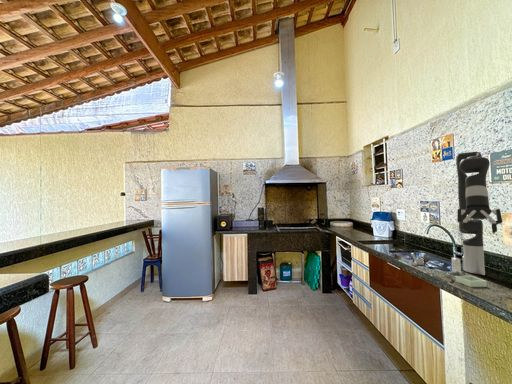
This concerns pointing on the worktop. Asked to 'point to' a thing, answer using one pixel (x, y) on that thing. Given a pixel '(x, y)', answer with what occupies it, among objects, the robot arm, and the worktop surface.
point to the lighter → (418, 259)
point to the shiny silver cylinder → (456, 267)
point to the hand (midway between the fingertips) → (479, 232)
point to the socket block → (451, 276)
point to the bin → (471, 281)
